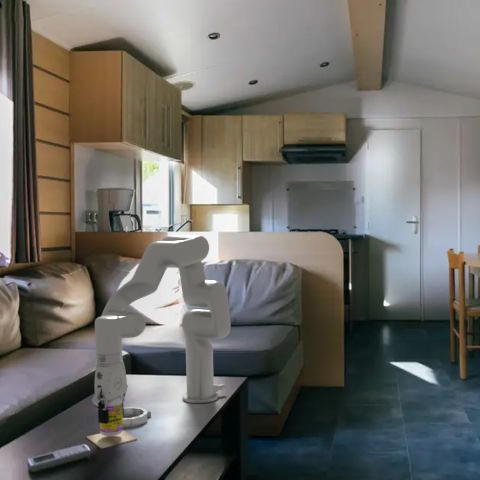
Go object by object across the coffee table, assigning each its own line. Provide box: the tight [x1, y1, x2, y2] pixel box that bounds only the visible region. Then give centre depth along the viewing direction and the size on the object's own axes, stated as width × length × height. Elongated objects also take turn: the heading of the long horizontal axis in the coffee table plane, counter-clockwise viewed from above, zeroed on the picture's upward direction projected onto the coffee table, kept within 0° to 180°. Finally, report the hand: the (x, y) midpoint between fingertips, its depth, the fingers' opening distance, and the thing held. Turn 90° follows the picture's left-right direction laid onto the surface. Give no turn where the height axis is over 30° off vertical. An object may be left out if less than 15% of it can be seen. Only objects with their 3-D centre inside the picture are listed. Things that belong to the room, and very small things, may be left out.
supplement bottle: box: [99, 397, 124, 436], centre depth 186 cm, size 7×7×13 cm
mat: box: [85, 429, 138, 449], centre depth 186 cm, size 11×11×1 cm
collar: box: [123, 406, 152, 428], centre depth 202 cm, size 15×12×2 cm
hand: (111, 418), depth 186 cm, fingers closed on supplement bottle, 6 cm apart
